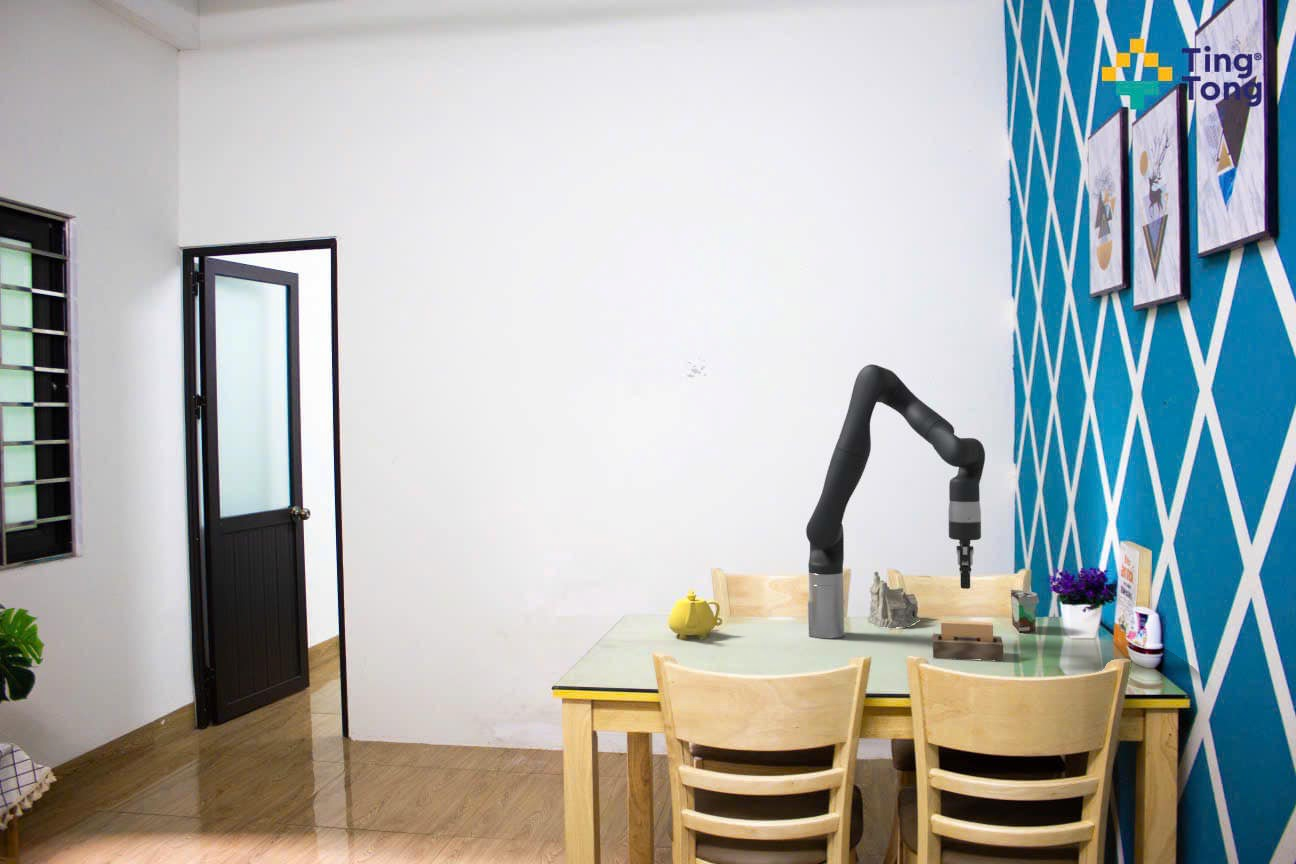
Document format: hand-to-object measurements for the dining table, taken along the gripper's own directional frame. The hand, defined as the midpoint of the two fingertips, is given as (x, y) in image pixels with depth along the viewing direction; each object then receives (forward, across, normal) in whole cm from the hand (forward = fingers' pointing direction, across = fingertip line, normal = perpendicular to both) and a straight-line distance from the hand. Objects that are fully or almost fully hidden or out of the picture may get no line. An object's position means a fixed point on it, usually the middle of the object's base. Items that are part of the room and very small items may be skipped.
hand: (965, 585), depth 226 cm
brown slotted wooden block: (+17, 0, 0) cm, 17 cm away
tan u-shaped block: (+17, 0, 0) cm, 17 cm away
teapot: (+18, +7, +71) cm, 73 cm away
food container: (+17, +33, -16) cm, 41 cm away
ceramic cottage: (+18, +36, +19) cm, 44 cm away
